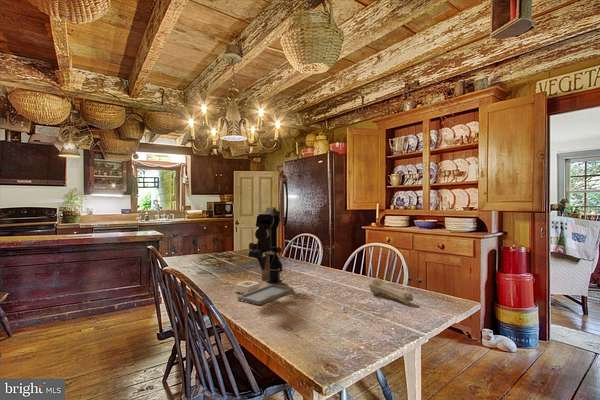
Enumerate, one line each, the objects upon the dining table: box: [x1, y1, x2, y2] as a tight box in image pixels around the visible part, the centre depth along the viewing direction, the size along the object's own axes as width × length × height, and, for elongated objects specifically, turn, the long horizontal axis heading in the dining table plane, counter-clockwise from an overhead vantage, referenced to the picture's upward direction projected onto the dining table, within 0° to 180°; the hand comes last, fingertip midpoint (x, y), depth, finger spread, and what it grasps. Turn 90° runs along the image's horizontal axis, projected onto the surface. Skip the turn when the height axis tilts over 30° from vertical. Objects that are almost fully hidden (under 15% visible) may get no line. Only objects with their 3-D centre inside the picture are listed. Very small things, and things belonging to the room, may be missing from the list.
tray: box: [237, 283, 294, 306], centre depth 154 cm, size 26×14×2 cm, turn 145°
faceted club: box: [368, 277, 414, 305], centre depth 146 cm, size 9×8×25 cm
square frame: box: [234, 280, 261, 294], centre depth 161 cm, size 9×9×4 cm
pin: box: [261, 254, 270, 282], centre depth 154 cm, size 4×4×12 cm
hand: (265, 269), depth 154 cm, fingers closed on pin, 4 cm apart
